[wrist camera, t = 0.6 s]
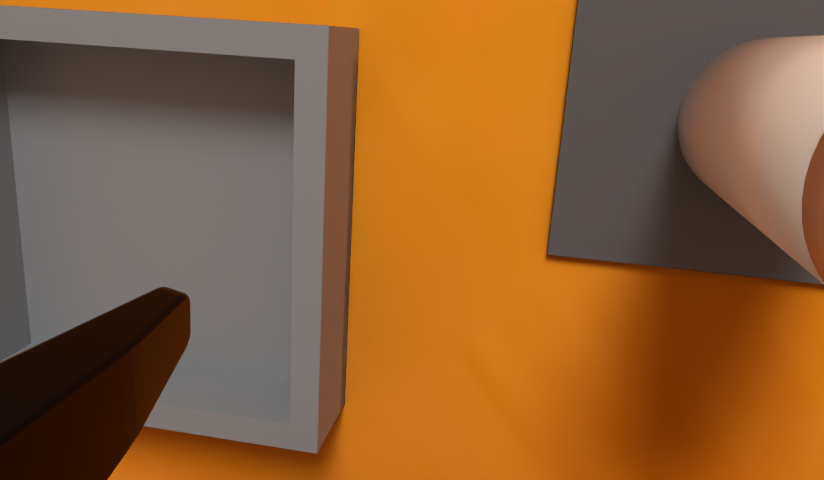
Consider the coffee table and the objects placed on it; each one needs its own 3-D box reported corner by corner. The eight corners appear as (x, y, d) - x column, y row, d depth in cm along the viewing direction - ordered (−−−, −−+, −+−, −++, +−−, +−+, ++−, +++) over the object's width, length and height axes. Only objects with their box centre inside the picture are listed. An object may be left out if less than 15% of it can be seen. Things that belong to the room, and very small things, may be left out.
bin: (344, 404, 27) (317, 453, 24) (21, 356, 29) (-45, 395, 26) (359, 28, 23) (328, 25, 20) (-15, 5, 25) (-98, -1, 22)
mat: (927, 293, 22) (932, 296, 22) (547, 251, 24) (547, 254, 24) (1022, -42, 20) (1029, -44, 19) (585, -60, 21) (585, -61, 21)
